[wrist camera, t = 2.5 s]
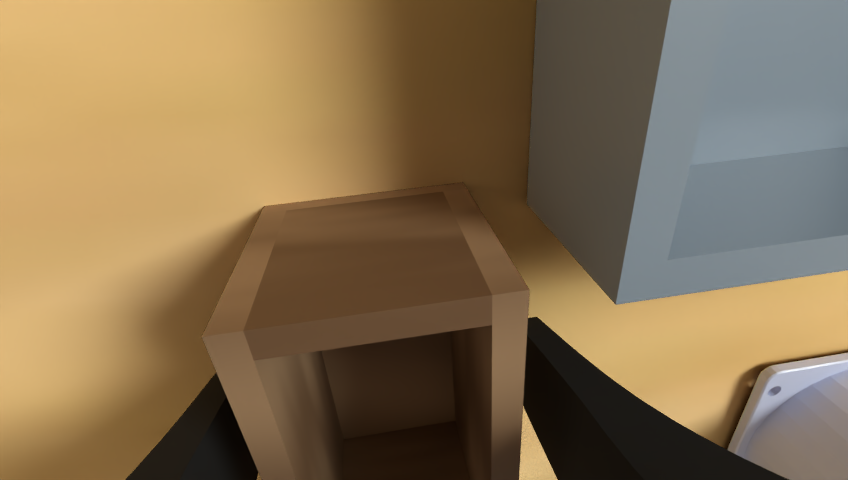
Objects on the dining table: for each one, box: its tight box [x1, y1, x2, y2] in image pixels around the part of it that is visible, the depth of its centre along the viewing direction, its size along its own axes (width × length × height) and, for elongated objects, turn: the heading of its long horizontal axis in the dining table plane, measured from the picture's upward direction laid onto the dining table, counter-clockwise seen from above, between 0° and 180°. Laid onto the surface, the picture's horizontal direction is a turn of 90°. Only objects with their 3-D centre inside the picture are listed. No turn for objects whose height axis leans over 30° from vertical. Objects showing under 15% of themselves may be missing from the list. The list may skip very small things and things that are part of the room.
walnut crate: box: [202, 182, 529, 480], centre depth 11 cm, size 9×5×5 cm, turn 4°
